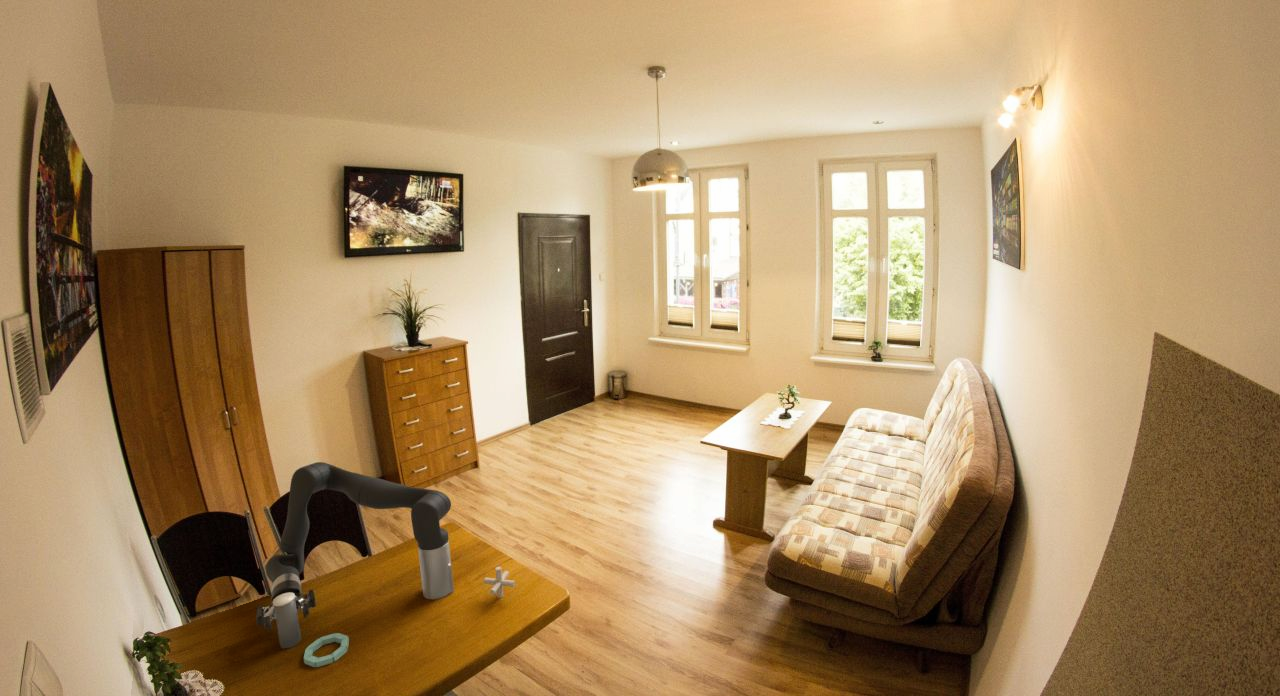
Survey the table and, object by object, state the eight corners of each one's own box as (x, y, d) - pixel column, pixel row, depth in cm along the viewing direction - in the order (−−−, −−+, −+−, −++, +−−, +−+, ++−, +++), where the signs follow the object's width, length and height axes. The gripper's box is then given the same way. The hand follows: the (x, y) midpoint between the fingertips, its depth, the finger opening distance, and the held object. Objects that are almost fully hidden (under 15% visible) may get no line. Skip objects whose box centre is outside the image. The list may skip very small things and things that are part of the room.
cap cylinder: (302, 633, 153) (296, 590, 150) (299, 645, 148) (293, 601, 146) (281, 639, 151) (274, 595, 148) (278, 651, 146) (270, 606, 144)
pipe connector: (508, 608, 162) (506, 579, 160) (478, 604, 164) (476, 576, 162) (521, 588, 171) (519, 560, 170) (493, 585, 173) (491, 557, 172)
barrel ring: (349, 634, 152) (349, 629, 152) (346, 658, 143) (346, 653, 143) (308, 645, 148) (307, 640, 148) (302, 671, 139) (301, 666, 138)
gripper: (255, 588, 155) (253, 619, 142) (311, 571, 163) (315, 599, 150) (259, 611, 157) (258, 643, 144) (315, 593, 165) (318, 622, 152)
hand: (287, 620), depth 147 cm, fingers open, 8 cm apart
